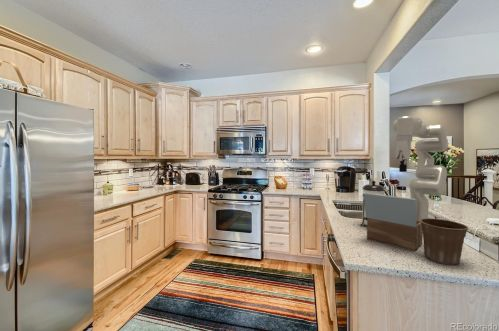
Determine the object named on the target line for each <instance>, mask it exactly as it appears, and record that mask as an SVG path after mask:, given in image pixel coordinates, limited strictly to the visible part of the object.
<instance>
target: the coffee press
mask: <svg viewBox="0 0 499 331" xmlns="http://www.w3.org/2000/svg"><path fill="white" fill-rule="evenodd" d="M385 192H386V191H385V188H384V186H382V185H380V184H376V181H375V180H372V181H371V184H364V185H363V187H362V211H361V212H362V215H361V216H362V217H361V218H362V220H361V222H362V223H361V224H360V226H361V227H362V226H364V227H365V226H367V218H366V213H365V202H364V193H369V194H378V195H385Z"/></svg>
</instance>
